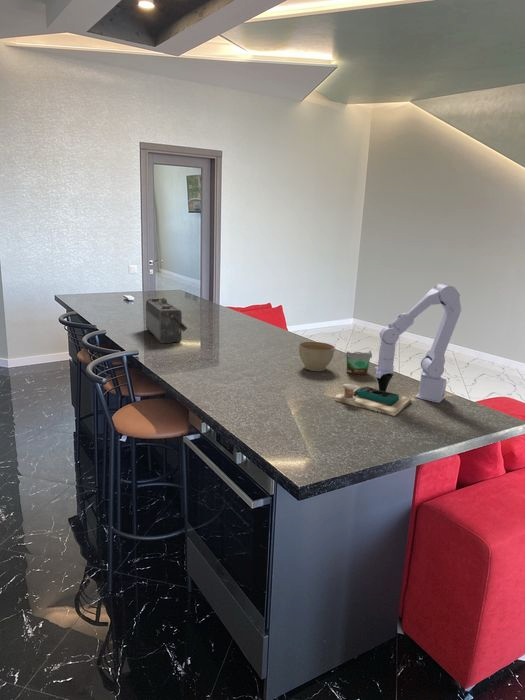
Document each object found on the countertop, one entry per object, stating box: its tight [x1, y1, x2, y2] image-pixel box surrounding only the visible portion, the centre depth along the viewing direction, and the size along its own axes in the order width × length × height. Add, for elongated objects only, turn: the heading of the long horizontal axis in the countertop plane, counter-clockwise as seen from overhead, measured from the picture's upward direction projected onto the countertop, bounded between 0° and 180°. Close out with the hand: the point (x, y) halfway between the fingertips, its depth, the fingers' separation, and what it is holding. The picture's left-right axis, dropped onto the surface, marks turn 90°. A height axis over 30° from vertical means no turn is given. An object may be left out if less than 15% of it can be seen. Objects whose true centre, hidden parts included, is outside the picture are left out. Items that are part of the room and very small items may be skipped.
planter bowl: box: [298, 341, 336, 372], centre depth 218 cm, size 16×16×11 cm
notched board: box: [334, 383, 412, 417], centre depth 180 cm, size 23×18×6 cm
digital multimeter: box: [356, 386, 400, 406], centre depth 185 cm, size 7×15×3 cm, turn 53°
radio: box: [145, 297, 188, 344], centre depth 265 cm, size 38×14×20 cm, turn 25°
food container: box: [344, 350, 373, 377], centre depth 213 cm, size 12×6×10 cm, turn 105°
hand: (382, 391), depth 188 cm, fingers closed
